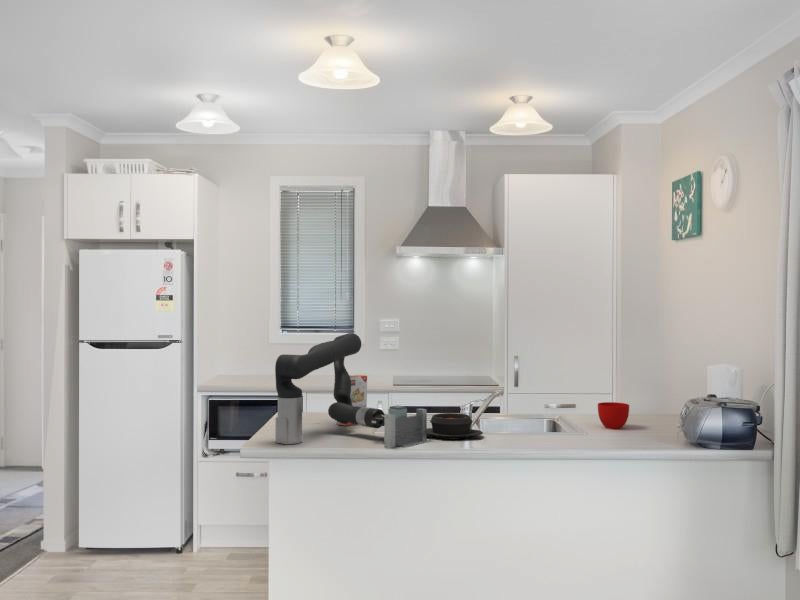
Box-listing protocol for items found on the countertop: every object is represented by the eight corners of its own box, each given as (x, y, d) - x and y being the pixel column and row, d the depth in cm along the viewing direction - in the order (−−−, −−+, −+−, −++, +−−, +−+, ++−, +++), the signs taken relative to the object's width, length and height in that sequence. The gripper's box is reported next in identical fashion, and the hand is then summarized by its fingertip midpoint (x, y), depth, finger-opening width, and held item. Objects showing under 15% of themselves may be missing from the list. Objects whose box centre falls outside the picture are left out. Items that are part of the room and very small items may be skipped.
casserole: (483, 433, 309) (483, 413, 309) (481, 442, 291) (481, 420, 291) (422, 431, 313) (422, 411, 313) (416, 440, 295) (416, 418, 295)
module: (398, 441, 286) (398, 407, 286) (388, 440, 290) (388, 406, 290) (406, 440, 290) (407, 406, 290) (396, 438, 293) (397, 405, 293)
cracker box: (346, 426, 325) (346, 377, 325) (336, 425, 329) (336, 376, 328) (367, 422, 336) (367, 374, 336) (357, 420, 340) (357, 374, 340)
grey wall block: (395, 449, 277) (395, 416, 277) (384, 447, 280) (384, 414, 280) (431, 441, 292) (431, 409, 292) (420, 439, 296) (420, 408, 296)
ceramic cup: (624, 424, 333) (624, 401, 333) (632, 430, 317) (632, 406, 317) (593, 423, 335) (594, 400, 335) (600, 430, 318) (600, 406, 318)
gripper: (357, 410, 294) (390, 414, 283) (382, 406, 305) (415, 410, 294) (357, 429, 294) (390, 435, 283) (382, 424, 305) (415, 429, 294)
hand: (402, 422), depth 288 cm, fingers closed on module, 5 cm apart
